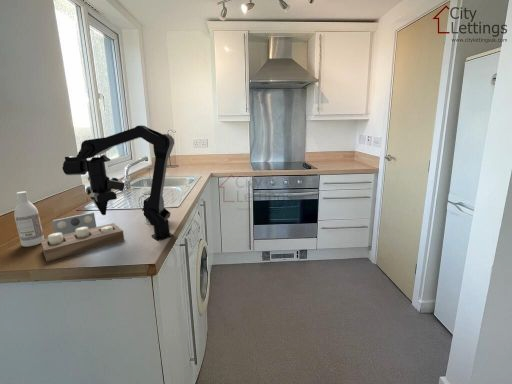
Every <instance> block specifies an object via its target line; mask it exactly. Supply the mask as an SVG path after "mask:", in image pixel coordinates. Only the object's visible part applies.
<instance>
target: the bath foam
mask: <svg viewBox="0 0 512 384" xmlns="http://www.w3.org/2000/svg"><path fill="white" fill-rule="evenodd" d="M16 197H17V204H16V206H15V209H14V211H13V212H14V213H13V214H14V220H15V224H16V225H15V226H16V228H17V233H18V236H19V240H20V245H21V246H22V247H26V248H27V247H34V246H37V245H40V244H41V240H43V239H45V236H44V232H43V228H42V222H41V218H40V213H39V210H38V208H37V207H36V206H35V205H34V204H33V203H32V202H31V201H30V200H29V197H28V191H17V192H16Z"/></svg>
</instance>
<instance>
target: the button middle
mask: <svg viewBox="0 0 512 384" xmlns="http://www.w3.org/2000/svg"><path fill="white" fill-rule="evenodd" d="M75 231H76V236H77V239H78V238H82V237H86V236H90V234H89V229H88V227H80V228H77V229H76V230H75Z"/></svg>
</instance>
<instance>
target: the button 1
mask: <svg viewBox="0 0 512 384" xmlns="http://www.w3.org/2000/svg"><path fill="white" fill-rule="evenodd" d="M47 238H48V239H49V243H50V245H54V244H58V243H62V242H64V240H63V235H62V233H55V232H53V233H51V234H49V235H48V236H47Z"/></svg>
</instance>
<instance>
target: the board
mask: <svg viewBox="0 0 512 384" xmlns="http://www.w3.org/2000/svg"><path fill="white" fill-rule="evenodd" d="M106 226H112V227H113V230H111V231H107V232H103V233H101V228H103V227H106ZM89 234H90V236H86V237H82V238H78V239H77V236H76V232H73V233H69V234H64V235H63V240H64V242H62V243H58V244H54V245H50V243H49V239H48V237H47V238H44V239H43V240H41V243H40V244H41V248H42V253H43V255H44V258H45V261H46V262H47V261H48V262H52V261H54V260H58V259H61V258H65V257H69V256H73V255H76V254H80V253H84V252H87V251H91V250H95V249H98V248H102V247H105V246H109V245H113V244H117V243H119V242H124V241H125V236H124V235H125V234H124V230H123V229H122V228H120V227H119V226H118V225H117V224H115V223H113V222H112V223H109V224H104V225H100V226H96V227H95V228H90V229H89Z"/></svg>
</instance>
